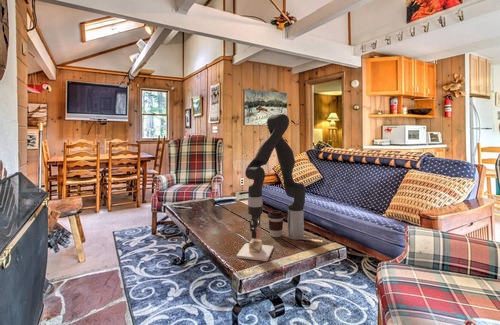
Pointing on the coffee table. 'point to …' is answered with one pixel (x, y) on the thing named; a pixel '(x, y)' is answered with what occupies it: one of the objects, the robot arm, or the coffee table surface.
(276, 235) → the coffee cup
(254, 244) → the maple block
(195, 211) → the coffee table surface
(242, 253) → the base plate
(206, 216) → the coffee table surface
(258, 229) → the terracotta block
